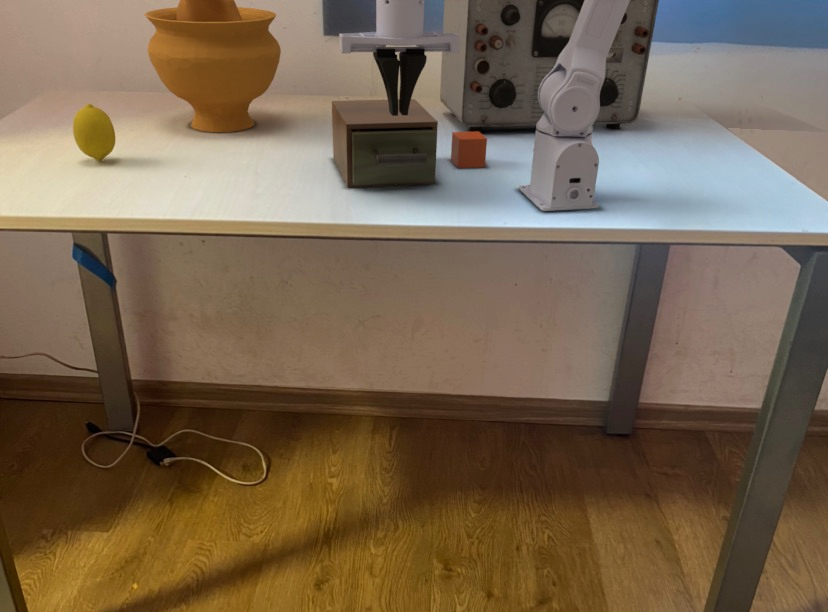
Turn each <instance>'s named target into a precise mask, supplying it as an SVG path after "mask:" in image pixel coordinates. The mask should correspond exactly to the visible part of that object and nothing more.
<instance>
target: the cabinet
mask: <svg viewBox="0 0 828 612" xmlns="http://www.w3.org/2000/svg"><path fill="white" fill-rule="evenodd" d="M331 122H332V125H331V126H332V156H333V161H334V163H335V165H336V167H337V169H338V172H339V174H340V175H341V177H342V179H343V182H344V183H345V185H346V187H347V188H369V187H370V188H371V187H393V186H415V185H417V186H418V185H434V184H436V175H435V176H434V182H418V183H395V184H371V185H354V184H353V182H352V130H351V129H387V128H422V127H426V128H427V129H428V130H435V131H436V151H435V174H436V170H437V169H436V168H437V147H438V142H437V141H438V125H439V122H438V120H436V118H434V117H433V116H432V114H431V113H429V112H428V110H426V108H425V107H423V105H421V103H419V101H417V100H416V99H415V98H411V101H410V105H409V110H408V115H402V114H401V113H400V112H399V98H398V116H392V115H391V113H390V112H389V103H388V99H360V100H359V99H357V100H355V99H354V100H353V99H352V100H350V99H349V100H332V101H331Z"/></svg>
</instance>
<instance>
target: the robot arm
mask: <svg viewBox="0 0 828 612" xmlns="http://www.w3.org/2000/svg"><path fill="white" fill-rule="evenodd" d="M629 1H630V0H585V1H584V3H583V6H582V8H581V11H580V14H579V16H578V19H577V21H576V24H575V27H574V29H573V32H572V35H571V37H570V40H569V42H568V44H567V45H566V47H565V48H564V49H563V51H562V52H561V53H560V55H559V57H558V59H557V62H556V64H555V66H554V68H553V69H552V70H551V72H550V73H548V74H547V75H546V76H545V78H544V79H543V80H542V82H541V84H540V86H539V90H538V101H539V105H540V107H541V109H542V110H543V111H544V114H543V115H542V117H541V119H540V120H539V121H538V122H537V125H536V126H535V127H536V128H535V136H534V143H533V144H534V145H533V154H532V163H531V172H530V182H529V184H521V185H519V186H518V190H519V191H520V192H522V193H523V194H524V195H525V196H526V198H528V199H529V200H530V201H531V202H532V203H533V204H534V205H535V206H536V207H538V208H539V209H540V210H541V211H543V212H549V211H550V212H552V211H572V210H589V209H598V208H600V204H599V203H598V202H597V201H595V200H594V198H595V192H596V185H597V179H598V172H599V165H600V158H599V154H598V152H597V150H596V148H595V147H594V145H593V141H592V137H593V130H594V124H593V123H594V122H595V120H596V118H597V116H598V113H599V109H600V97H599V96H600V90H601V87H602V84H603V82H604V79H605V67H606V58H607V55H608V53H609V50H610V48H611V45H612V43H613V40H614V38H615V35H616V33H617V31H618V28H619V26H620V23H621V21H622V18H623V16H624V14H625V11H626V9H627V6H628V4H629ZM375 5H376V6H375V12H376V13H375V15H376V16H375V17H376V18H375V23H376V25H375V27H376V28H375V30H376V31H368V32H351V33H350V32H349V33H339V34H338V37H339V39H338V40H339V41H338V42H339V52H340V53H341V54H351V53H372V57H373V59H374V62H375V63H376V66H377V69H378V71H379V73H380V76H381V79H382V82H383V85H384V88H385V92H386V96H387V100H388V103H389V112H390V113H391V115H392V116H398V99H399V112H400V113H401V114H402V115H408V110H409V105H410V101H411V99H412V97H413V94H414V91H415V88H416V86H417V82H418V80H419V78H420V76H421V74H422V72H423V69H425V66H426V64H427V59H428V57H427V55H426V54H425V53H430V52H431V53H432V52H433V53H434V52H435V53H442V52H451V53H458V52H459V35H457V34H456V33H443V32H432V31H431V32H430V31H424V25H425V0H376V1H375ZM396 53H398V54H396Z"/></svg>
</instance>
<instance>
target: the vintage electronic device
mask: <svg viewBox="0 0 828 612" xmlns="http://www.w3.org/2000/svg"><path fill="white" fill-rule="evenodd" d="M584 1H585V0H443V19H442V20H443V21H442V23H443V24H442V33H456V34H457V35H459V52H458V53H451V52H441V69H440V70H441V71H440V92H439V93H440V94H439V98H440V102H441V103H442V104H443V105H444V107H446V108H447V109H448V110H449V111H450V112H451V114H452V115H453V116H454V117H456V118H457V119H458V121H460V122H461V123H462V125H464V126H465V127H467V128H468V132H476V131H479V132H480V133H481V134H482V133H483V131H484V128H485V127H486V128H487V127H489V128H490V127H528V126H530V127H532V126H535V127H536V125H537V122H538V121H539V120H540V119H541V117H542V115H543V114H544V111H543V110H542V109H541V107H540V105H539V101H538V90H539V86H540V84H541V82H542V80H543V79H544V78H545V76H546V75H547V74H548V73H550V72H551V70H552V69H553V68H554V66H555V64H556V62H557V59H558V57H559V55H560V53H561V52H562V51H563V49H564V48H565V47H566V45H567V44H568V42H569V40H570V37H571V35H572V32H573V29H574V27H575V24H576V21H577V19H578V16H579V14H580V11H581V8H582V6H583V3H584ZM659 1H660V0H630V1H629V4H628V6H627V9H626V11H625V14H624V16H623V18H622V21H621V23H620V26H619V28H618V31H617V33H616V35H615V38H614V40H613V43H612V45H611V48H610V50H609V53H608V55H607V58H606V67H605V79H604V82H603V84H602V87H601V90H600V96H599V97H600V109H599V113H598V116H597V118H596V120H595V122H594V123H593V124H592V125H605V127H606V129H607V130H612V131H615V130H620V128H621V125H623V124H624V125H625V124H626V125H627V124H633V123H635V122H636V121H637V120H638V118H639V115H640V110H641V104H642V98H643V93H644V87H645V81H646V77H647V69H648V63H649V59H650V53H651V47H652V42H653V37H654V36H653V35H654V30H655V25H656V19H657V13H658V7H659V3H660V2H659Z"/></svg>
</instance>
